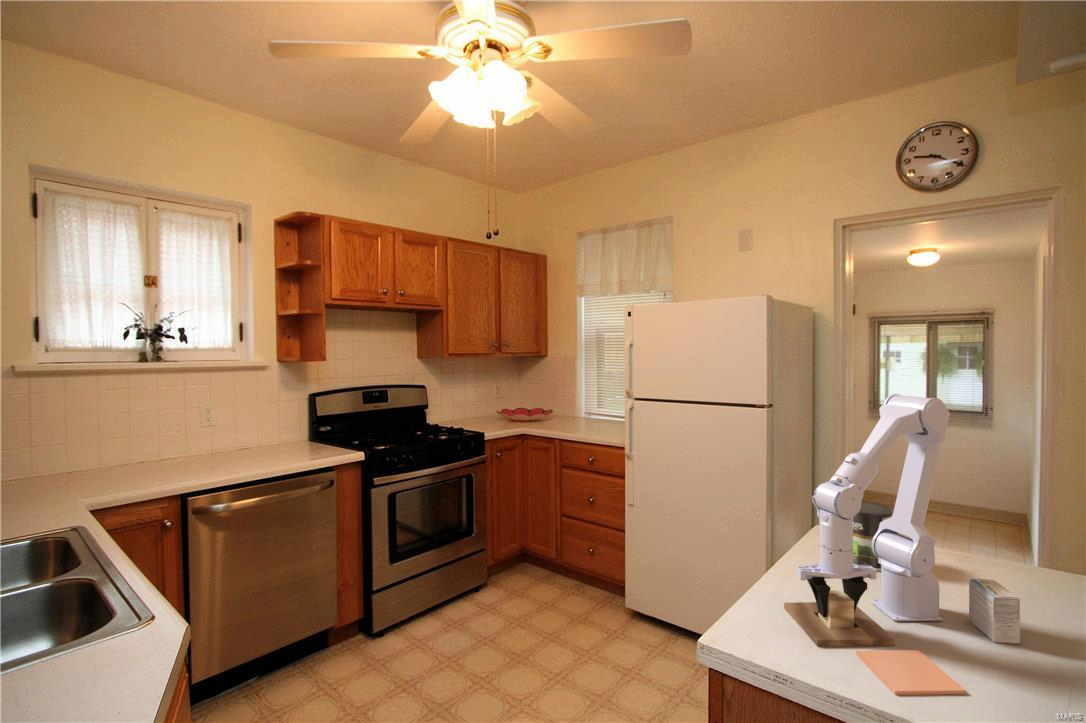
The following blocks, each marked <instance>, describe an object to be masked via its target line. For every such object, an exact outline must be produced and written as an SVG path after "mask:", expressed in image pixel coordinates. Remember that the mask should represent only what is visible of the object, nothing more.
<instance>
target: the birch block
mask: <svg viewBox="0 0 1086 723" xmlns="http://www.w3.org/2000/svg"><path fill="white" fill-rule="evenodd" d="M818 618H819V619H820V620H821V621H822V622H823V623H824V624H825V625H826V626H827V627H828V628H854V601H853V600H852V599H851V598H850V597H849V596H848V595H846V594H845V593H844V590H842V589H837V590H835V589H834V590H833V589H830V592H829V596H828V613H827V617H822V615H821V614H820V613H819V612H818Z"/></svg>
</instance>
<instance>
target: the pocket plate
mask: <svg viewBox="0 0 1086 723" xmlns="http://www.w3.org/2000/svg"><path fill="white" fill-rule="evenodd" d="M783 609H784V610H785V611H786V612H787V613H788V614H789V616H790V617H791V618H792V619H793V621H795V623H796V624H797V626H799V627H800V629H802V631H803V632H804V633H805V634H806V636H808V637H809V639H810V640H811V641H812V642H813V643H814V644H815V646H817V647H877V646H878V647H883V646H885V647H887V646H888V647H889V646H892V647H893V646H896V645H895V644H896V639H895V638H894V637H893V636H892V635H891V634H890V633H888V632H887V631H886V630H885V629H884V628H883V627H881V625H880V624H878V623H877V622H876V621H875V620H874V619H872V618H871V617H870V616H869V615H868V614H867V613H866V612H864V611H863V610H862V609H861V608H860V607H859V606H857V607H856V610H855V613H854V628H828V627H827V626H826V625H825V624H824V623H823V622H822V621H821V620H820V619H819V618H818V607H817V603H816V601H814V602H813V601H810V602H809V601H808V602H804V601H803V602H783Z"/></svg>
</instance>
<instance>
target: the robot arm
mask: <svg viewBox="0 0 1086 723" xmlns="http://www.w3.org/2000/svg"><path fill="white" fill-rule="evenodd" d="M878 411H879V417H880V419H879V420H878V422H877V423H876V425H875V426H874V428H873V429H872V431H871V433H870V434H869V436H868V438H867V439H866V441H865V442H864V444H863V446H862V447H861V448H860V450H859V451H858V452H853V453H852V452H851V453H849V454H848V455H847V456H846V457H844V458H845V459H844V461H843V462H842V463H841V464H840V466H839V467H838V468H837V470H836V471H835V472H834V474H833V475H832V476H831V478H830V479H829V480H828V481H825V482H823V483H821V484H818V486H817V487H816V488H815V490H814V494H813V495H812V496H811V499H812V504H813V506H814V507H815V508H816V516H817V517H818V519H819V562H818V563H813V564H808V565H803V566H796V567H795V568H796V570H795V572H796V573H795V575H796V577H797V578H798V580H800V581H807V583H808V584H809V587H810V589H811V591H812V593H813V596H814V599H815V602H816V603H817V607H818V612H819V613H820V614H821V615H822V617H827V613H828V596H829V592H830V590H831V587H830V585H828V584H827V580H826V579H828V580H829V579H830V580H831V579H837V580H841V583H842V589H843V590H842V591H843V592H844V593H845V594H846V595H848V596H849V597H850V598H851V599H852V600H853V601H854V613H855V610H856V607H858V604H859V602H860V600H861V598H862V596H863V595H864V593H865V592H866V591H867V589H868V583H867V582H866V581H865V580H864V579H870V580H872V581H873V580H877V571H876V569H874V568H873V567H872V566H864V565H854V564H853V517H854V516H855V515H856V514H857V513H858V512H859V511H860V508H861V503H862V501H863V499H864V495H865V494H864V492H865V490H866V489H867V488H868V487H869V485H870V484H871V483H872V481H873V480H874V478H875V477H876V476H877V474H878V473H879V467H878V462H879V460H881V458H882V457H883V456H884V455H885V454H886V453H887V452H888V450H889V449H890V448H891V447H893V445H894V444H895V443H896V442H897V441H898V439H899V438H900V437H901V436H904V438H905V439H906V441H907V442H908V447H907V452H906V456H905V460H904V463H903V464H904V465H903V468H902V469H903V470H902V473H901V478H900V482H899V486H898V490H897V491H898V492H897V496H896V500H895V504H894V508H893V511H892V517H891V518H889V519H887V520H884V521H882V522H880V525H879V528H878V531H877V533H876V534H875V535H874V537H873V540H872V551H873V553H874V555H875V556H876V557H878V563H880V564H881V571H880V573H881V574H880V575H881V576H880V599H871V603H872V604H873V605H874V606H875V607H876V608H878V609H879V610H880V611H882V612H883V613H885V615H886V616H888V617H889V618H890V619H891V620H892V621H894V622H895V621H896V622H918V621H919V622H920V621H921V622H925V621H926V622H927V621H928V622H930V621H934V622H935V621H943V618H942V616H940V584H939V581H938V578H937V576H936V575H935V573H934V572H933V571H932V570H933V568H934V566H935V562H936V555H935V544H936V540H935V538H934V537H933V536H932V534H931V532H929V531H928V530H927V528H926V527H925V521H926V516H927V512H928V507H929V503H930V499H931V495H932V490H933V486H934V482H935V477H936V472H937V468H938V463H939V458H940V455H941V454H940V453H941V451H942V450H941V449H942V446H943V442H944V441H945V438H946V433H947V429H948V424H949V420H950V415H951V413H950V411H949V410H948V408H947V406H946V404H945V403H944V401H943V400H942V399H940V398H937V397H921V396H912V395H903V394H902V395H901V394H897V393H894V394H890V395H888V396H887V397H886V398H885V400H884V402H883V404H882V405H881V406H880V407H879V410H878Z"/></svg>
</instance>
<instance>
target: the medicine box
mask: <svg viewBox="0 0 1086 723" xmlns="http://www.w3.org/2000/svg"><path fill="white" fill-rule="evenodd" d="M968 584H969V588H968V590H969V591H968V592H969V593H968V594H969V596H968V598H969V600H968V601H969V602H968V604H969V605H968V609H969V610H968V611H969V612H968V616H969V617H968V618H969V622H971V623H972V624H973V625H974V626H975V627H977V629H978V630H979V631H981V632H982V633H983V634H984V635H985V636H986V637H987V638H989V639H990V640H991V641H992V642H993V643H998V644H1013V645H1014V644H1015V645H1019V644H1020V643H1021V598H1020V597H1018V595H1016V594H1015V593H1013V592H1012V591H1010V590H1009V589H1007V588H1006V587H1005V586H1003V585H1002V584H1001V583H999V582H997V581H996V580H995V579H990V578H989V579H988V578H987V579H986V578H969V582H968Z"/></svg>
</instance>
